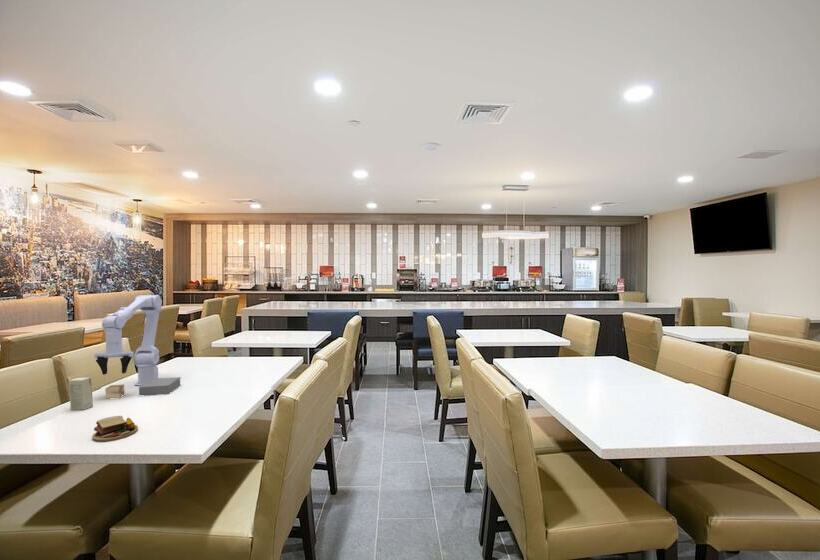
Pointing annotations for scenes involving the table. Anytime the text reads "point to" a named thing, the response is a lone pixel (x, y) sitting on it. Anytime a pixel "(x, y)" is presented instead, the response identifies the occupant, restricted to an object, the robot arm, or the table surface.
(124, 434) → the toy sandwich meal
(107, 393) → the birch cube
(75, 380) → the skincare box
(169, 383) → the flat grey base plate
